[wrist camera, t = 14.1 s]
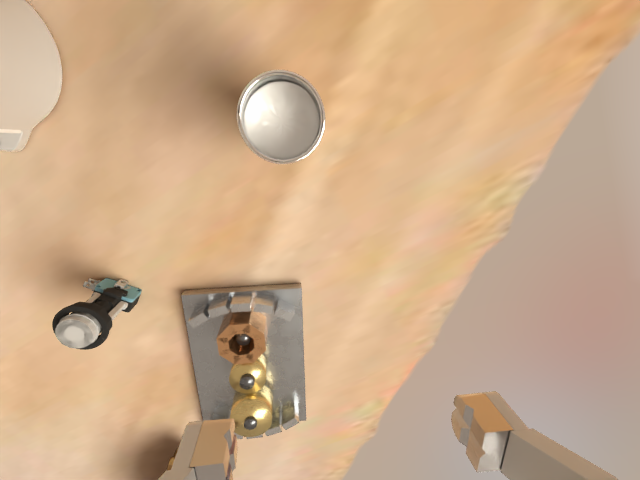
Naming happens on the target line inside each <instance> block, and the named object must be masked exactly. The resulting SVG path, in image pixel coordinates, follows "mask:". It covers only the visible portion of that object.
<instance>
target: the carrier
mask: <svg viewBox="0 0 640 480" xmlns="http://www.w3.org/2000/svg"><path fill="white" fill-rule="evenodd" d="M181 298H182V303H183V309H184V315H185V320H186V326H187V332H188V338H189V343H190V349H191V355H192V360H193V366H194V372H195V377H196V383H197V389H198V394H199V400H200V406H201V411H202V417H203V421H205V420H219V419H232V418H233V419H234V422H235V430H234V434H235V435H236V436H237V439H242V438H243V436H244V437H246V438H247V439H250V438H259V437H263V433H266V435H267V436H269V435H273V434H276V433H279V432H282V426H283V427H284V429H285V430H287V429H289V428H290V427H292V426H294V425H296V424H298V423H299V421H304V420H306V402H305V373H304V344H303V316H302V288H301V283H296V284H279V285H262V286H246V287H229V288H212V289H195V290H184V292H183V293H182V295H181ZM251 307H253V308H254V309H253V311H254V312H260V313H261V314H263V315H264V316H265V317H266V321H267V330H268V334H267V345H266V351H265V352H264V353H263V354H262V355H261V356H260V357H259V358H258V359H257V360H256V361H255V362H254V363H245V364H235V365H234V364H233V363H231V362H230V361H228V360H227V359H225V358H223V357H222V356H220V355H219V351H218V345H217V339H216V338H217V335H218V332H219V330H220V327H221V324H222V321H223V320H224V319H225V318H226V317H227V315H228V314H229V313H230V312H247V311H251ZM250 339H251V337H250V336H248V335H247V334H237V338H236V341H237V343H238V344H239V345H243V346H244V345H247V344H249V342H250Z"/></svg>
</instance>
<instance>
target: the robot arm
mask: <svg viewBox="0 0 640 480" xmlns="http://www.w3.org/2000/svg"><path fill="white" fill-rule="evenodd" d="M61 87H62V65H61V60H60V56H59V52H58V49H57V46H56V44H55V41H54V39H53V37H52V35H51V33H50V31H49V29H48V28H47V26H46V24H45V23H44V21H43V20H42V19H41V17H40V16H39V15H38V13H37V12H36V11H35V10H34V9H33V8H32V7H31V5H30V4H29V3H27V2H26V1H25V0H0V150H2V151H10V152H19V151H21V150H23V149H24V147H25V146H26V144H27V142H28V139H29V137H30V134H31V131H32V129H33V128H34V127H35V126H36V125H37V124H38V123H39V122H41V121H42V120H43V119H44V118H45V117H47V116H48V115H49V113H50V112H51V111H52V110H53V108H54V106H55V105H56V103H57V101H58V98H59V95H60V92H61ZM454 405H455V406H456V409H455V410H454V411H453V412H452V418H451V420H452V426H453V430H454V433H455V435H456V437H457V439H458V440H459V442H460V443H462V444H463V445H465V446H466V447H467V448H466V454H467V456H468V458H469V459H470V461H471V463H472V465H473V466H474V468H475V470H476V472H489V471H499V470H501V473H503V474H504V475H505V476H506V477H507V478H508V479H510V480H618V479H617V478H616V477H615V476H613V475H611V474H609V473H608V472H606V471H604V470H602V469H601V468H599V467H597V466H596V465H594V464H592V463H591V462H589V461H587V460H585V459H584V458H582V457H580V456H579V455H577V454H575V453H573V452H572V451H570V450H568V449H567V448H565V447H563V446H562V445H560V444H558V443H556V442H555V441H553V440H551V439H549V438H548V437H546V436H544V435H543V434H541V433H539V432H537V431H536V430H534V429H528V428H527V427H526V425H525V424H524V423H523V422H522V421H521V419H520V418H519V417H518V416H517V415H516V413H515V412H514V411H513V410H512V409H511V407H510V406H509V405H508V404H507V403H506V402H505V400H504V399H503V398H502V397H501V396H500V394H499V393H497V392H496V391H493V392H484V393H474V394H465V395H457V396H456V397H455V398H454ZM234 430H235V422H234V419H233V418H232V419H219V420H205V421H195V422H189V423H188V424H187V426H186V428H185V431H184V434H183V436H182V439H181V442H180V445H179V448H178V451H177V454H176V457H175V459H174V462H173V465H172V468H171V470H168V471H165V472H164V473H163V475H162V476H161V477H160V478H159V479H158V480H233V475H232V471H233V470H234V469H235V468H236V460H237V436H236V435H235V434H234Z"/></svg>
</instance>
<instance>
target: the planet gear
mask: <svg viewBox="0 0 640 480" xmlns="http://www.w3.org/2000/svg"><path fill="white" fill-rule="evenodd" d="M253 309H254V308H253V307H251V311H247V312H230V313H229V314H228V315H227V317H226V318H225V319H224V320H223V321H222V324H221V327H220V330H219V332H218V335H217V338H216V339H217V345H218V351H219V355H220V356H222V357H223V358H225V359H227V360H228V361H230V362H231V363H233V364H234V365H235V364H245V363H254V362H255V361H256V360H257V359H258V358H259V357H260V356H261V355H262V354H263V353H264V352H265V351H266V345H267V334H268V330H267V321H266V317H265V316H264V315H263V314H261V313H260V312H254V311H253ZM237 334H247V335H248V336H250V337H251V339H250V342H249V344H247V345H244V346H243V345H239V344H238V343H237V341H236V338H237Z"/></svg>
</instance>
